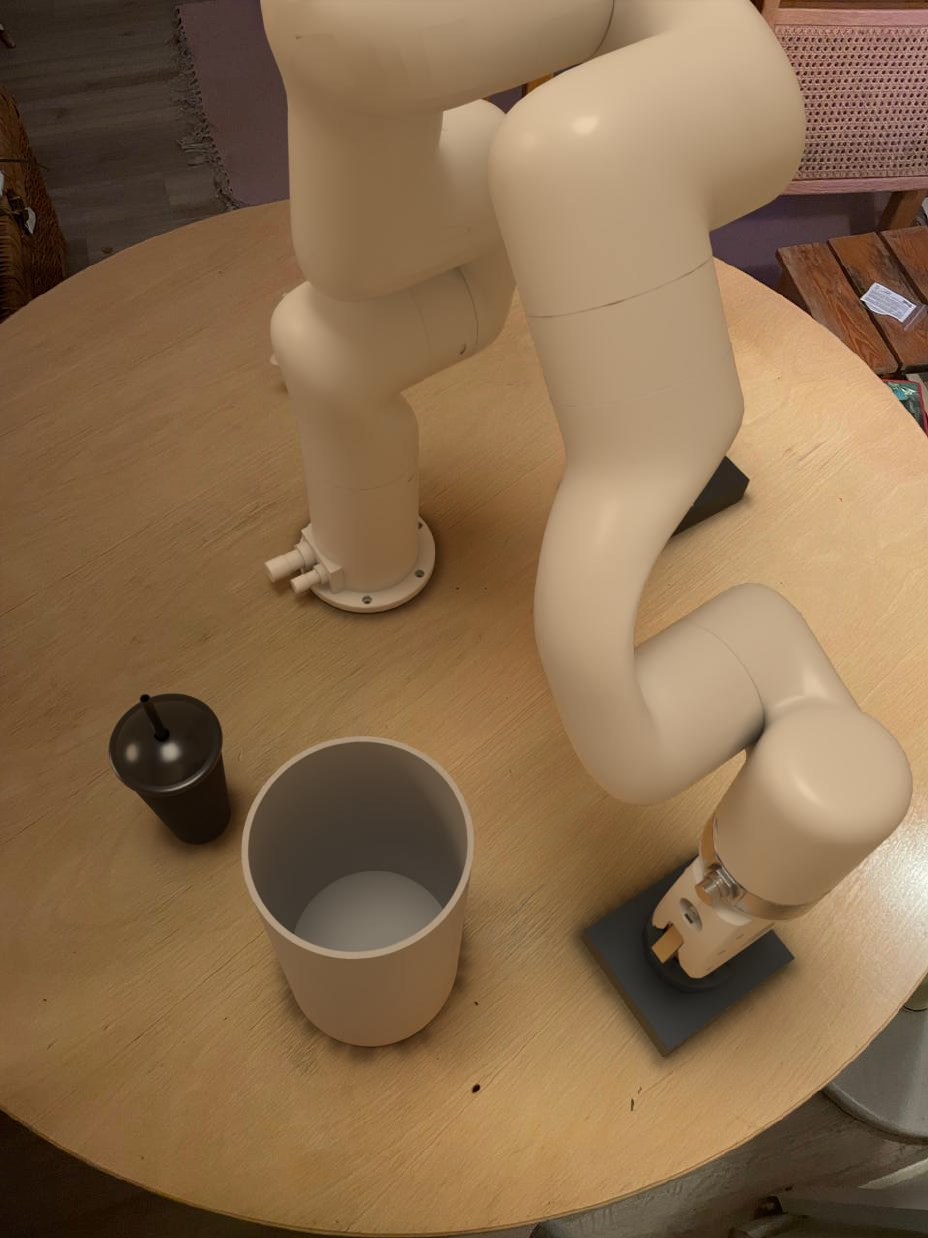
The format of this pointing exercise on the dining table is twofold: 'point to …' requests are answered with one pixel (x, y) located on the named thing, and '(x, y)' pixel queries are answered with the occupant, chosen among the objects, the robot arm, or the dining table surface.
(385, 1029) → the cylinder vase
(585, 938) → the switch block
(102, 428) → the dining table surface
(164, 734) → the drinking cup
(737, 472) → the panel
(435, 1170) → the dining table surface
